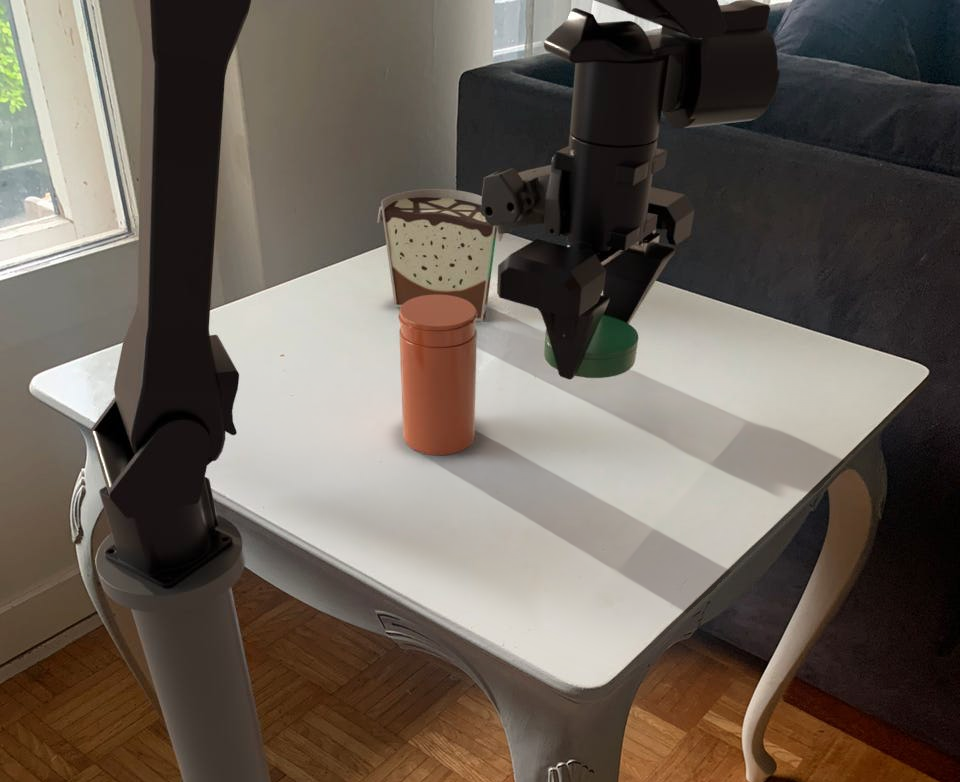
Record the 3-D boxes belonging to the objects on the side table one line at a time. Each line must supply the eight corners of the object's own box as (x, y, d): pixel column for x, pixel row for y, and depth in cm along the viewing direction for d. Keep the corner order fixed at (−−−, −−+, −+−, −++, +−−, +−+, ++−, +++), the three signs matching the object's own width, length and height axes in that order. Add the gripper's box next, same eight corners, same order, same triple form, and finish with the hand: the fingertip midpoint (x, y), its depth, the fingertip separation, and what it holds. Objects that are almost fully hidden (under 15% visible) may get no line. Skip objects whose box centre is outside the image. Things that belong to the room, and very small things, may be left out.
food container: (516, 300, 97) (521, 197, 90) (497, 324, 93) (501, 218, 86) (404, 281, 100) (401, 180, 93) (381, 304, 95) (376, 200, 89)
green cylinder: (607, 388, 68) (610, 363, 67) (526, 361, 71) (527, 337, 70) (650, 352, 73) (654, 329, 71) (573, 329, 75) (575, 305, 74)
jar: (448, 463, 74) (448, 334, 67) (388, 440, 76) (382, 313, 69) (488, 431, 78) (492, 306, 70) (430, 411, 80) (428, 287, 73)
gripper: (574, 86, 70) (557, 292, 81) (429, 145, 59) (432, 377, 69) (714, 111, 66) (677, 326, 77) (587, 181, 54) (564, 422, 65)
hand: (589, 359), depth 72 cm, fingers closed on green cylinder, 7 cm apart
